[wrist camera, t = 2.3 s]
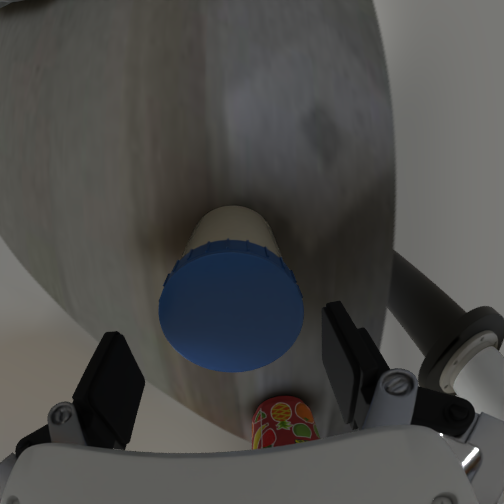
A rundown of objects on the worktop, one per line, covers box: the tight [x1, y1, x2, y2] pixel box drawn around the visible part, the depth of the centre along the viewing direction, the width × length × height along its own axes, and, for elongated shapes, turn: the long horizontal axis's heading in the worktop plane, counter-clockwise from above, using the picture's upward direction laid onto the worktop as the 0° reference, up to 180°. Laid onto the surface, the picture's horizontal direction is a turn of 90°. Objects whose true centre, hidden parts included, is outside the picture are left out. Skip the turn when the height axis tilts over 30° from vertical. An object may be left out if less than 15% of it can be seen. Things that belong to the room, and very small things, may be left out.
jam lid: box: [159, 238, 304, 372], centre depth 14 cm, size 7×7×2 cm
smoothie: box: [252, 396, 320, 450], centre depth 21 cm, size 8×8×20 cm
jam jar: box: [180, 205, 284, 262], centre depth 18 cm, size 7×7×10 cm
